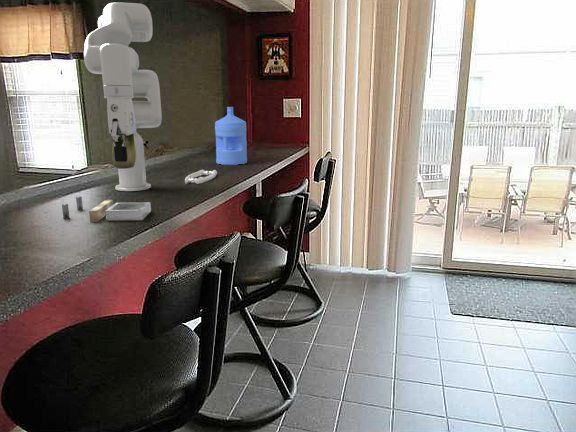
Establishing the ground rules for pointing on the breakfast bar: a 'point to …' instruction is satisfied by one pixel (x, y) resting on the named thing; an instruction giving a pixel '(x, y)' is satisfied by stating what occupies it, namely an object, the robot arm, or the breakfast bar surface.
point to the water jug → (231, 140)
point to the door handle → (201, 179)
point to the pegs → (66, 209)
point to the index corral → (128, 211)
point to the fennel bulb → (130, 154)
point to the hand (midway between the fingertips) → (124, 159)
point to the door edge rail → (99, 210)
